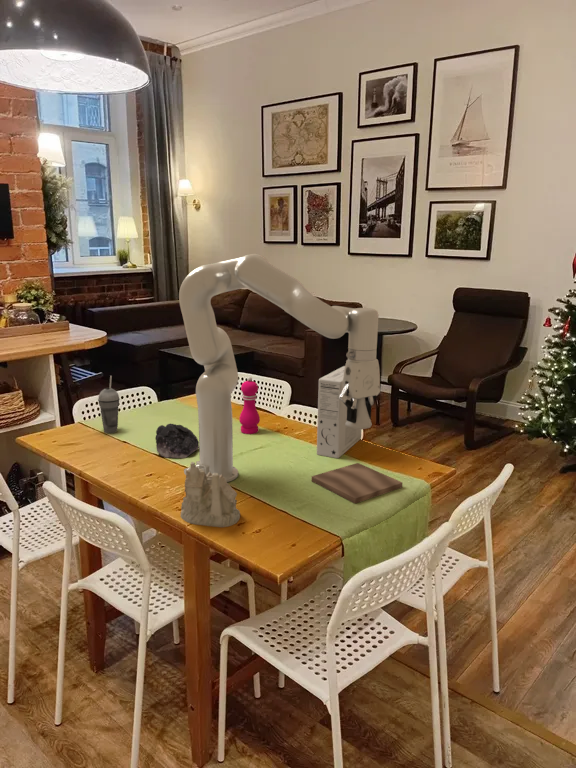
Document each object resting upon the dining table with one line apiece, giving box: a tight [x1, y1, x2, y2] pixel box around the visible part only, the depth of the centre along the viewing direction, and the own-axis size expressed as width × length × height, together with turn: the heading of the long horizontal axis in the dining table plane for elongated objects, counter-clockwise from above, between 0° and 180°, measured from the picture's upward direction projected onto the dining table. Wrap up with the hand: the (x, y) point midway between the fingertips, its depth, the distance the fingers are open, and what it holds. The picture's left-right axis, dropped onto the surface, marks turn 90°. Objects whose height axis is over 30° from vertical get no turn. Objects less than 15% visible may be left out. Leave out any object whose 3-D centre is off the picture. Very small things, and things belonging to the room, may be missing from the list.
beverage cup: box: [97, 375, 120, 434], centre depth 208 cm, size 7×7×20 cm
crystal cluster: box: [155, 423, 199, 459], centre depth 191 cm, size 13×14×10 cm
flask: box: [345, 398, 373, 430], centre depth 163 cm, size 7×7×10 cm
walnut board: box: [311, 462, 403, 505], centre depth 168 cm, size 18×18×2 cm
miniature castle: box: [180, 461, 241, 528], centre depth 149 cm, size 16×16×15 cm
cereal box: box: [316, 365, 362, 459], centre depth 195 cm, size 22×8×25 cm, turn 154°
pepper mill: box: [239, 376, 261, 435], centre depth 210 cm, size 7×7×20 cm
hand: (358, 419), depth 164 cm, fingers closed on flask, 4 cm apart
